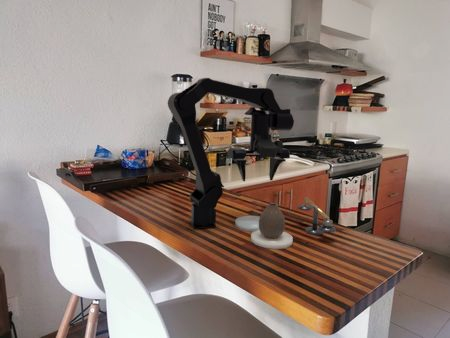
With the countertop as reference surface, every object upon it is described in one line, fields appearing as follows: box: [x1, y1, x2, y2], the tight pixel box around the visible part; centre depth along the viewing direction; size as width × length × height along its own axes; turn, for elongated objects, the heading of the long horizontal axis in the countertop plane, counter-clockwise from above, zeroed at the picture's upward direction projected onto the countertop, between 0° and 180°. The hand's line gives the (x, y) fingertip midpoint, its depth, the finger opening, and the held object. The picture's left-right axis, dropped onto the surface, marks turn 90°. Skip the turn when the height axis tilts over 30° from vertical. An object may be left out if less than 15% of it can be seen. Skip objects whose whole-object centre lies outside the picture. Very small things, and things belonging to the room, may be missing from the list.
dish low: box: [250, 230, 294, 250], centre depth 90 cm, size 11×11×1 cm
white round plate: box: [235, 215, 261, 233], centre depth 102 cm, size 11×11×1 cm
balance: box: [297, 196, 337, 236], centre depth 97 cm, size 16×5×9 cm, turn 18°
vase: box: [259, 202, 286, 239], centre depth 89 cm, size 7×7×9 cm
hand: (257, 180), depth 106 cm, fingers open, 9 cm apart
